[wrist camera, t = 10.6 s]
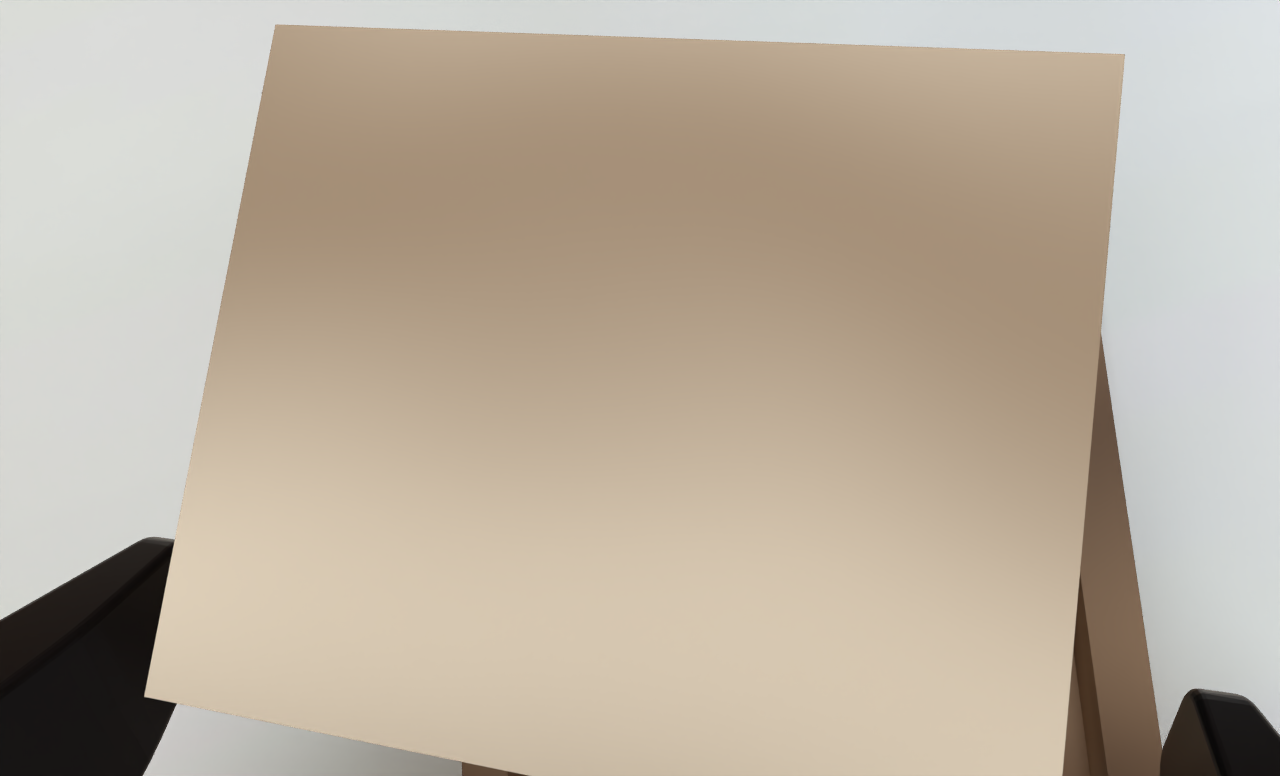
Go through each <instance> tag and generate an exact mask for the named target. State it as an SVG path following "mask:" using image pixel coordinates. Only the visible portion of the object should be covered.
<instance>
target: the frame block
mask: <svg viewBox="0 0 1280 776" xmlns="http://www.w3.org/2000/svg"><path fill="white" fill-rule="evenodd" d="M1124 59H1125V54H1102V53H1073V52H1045V51H1016V50H987V49H959V48H930V47H902V46H873V45H845V44H816V43H788V42H759V41H730V40H702V39H673V38H645V37H616V36H588V35H559V34H531V33H502V32H473V31H445V30H416V29H388V28H359V27H331V26H302V25H275V30H274V35H273V40H272V45H271V50H270V56H269V61H268V66H267V71H266V76H265V81H264V86H263V91H262V97H261V102H260V107H259V112H258V117H257V122H256V127H255V132H254V137H253V143H252V148H251V153H250V158H249V163H248V168H247V173H246V178H245V183H244V189H243V194H242V199H241V204H240V209H239V214H238V219H237V224H236V229H235V235H234V240H233V245H232V250H231V255H230V260H229V265H228V270H227V275H226V281H225V286H224V291H223V296H222V301H221V306H220V311H219V316H218V321H217V327H216V332H215V337H214V342H213V347H212V352H211V357H210V362H209V368H208V373H207V378H206V383H205V388H204V393H203V398H202V403H201V408H200V414H199V419H198V424H197V429H196V434H195V439H194V444H193V449H192V454H191V460H190V465H189V470H188V475H187V480H186V485H185V490H184V495H183V500H182V506H181V511H180V516H179V521H178V526H177V531H176V536H175V541H174V546H173V552H172V557H171V562H170V567H169V572H168V577H167V582H166V587H165V593H164V598H163V603H162V608H161V613H160V618H159V623H158V628H157V633H156V639H155V644H154V649H153V654H152V659H151V664H150V669H149V674H148V679H147V685H146V690H145V695H144V697H148V698H153V699H158V700H163V701H168V702H173V703H177V704H182V705H187V706H192V707H197V708H202V709H207V710H212V711H216V712H221V713H226V714H231V715H236V716H241V717H246V718H251V719H255V720H260V721H265V722H270V723H275V724H280V725H285V726H290V727H294V728H299V729H304V730H309V731H314V732H319V733H324V734H329V735H333V736H338V737H343V738H348V739H353V740H358V741H363V742H368V743H372V744H377V745H382V746H387V747H392V748H397V749H402V750H407V751H411V752H416V753H421V754H426V755H431V756H436V757H441V758H446V759H451V760H455V761H460V762H465V763H470V764H475V765H480V766H485V767H490V768H494V769H499V770H504V771H509V772H514V773H519V774H524V775H529V776H1062V774H1063V762H1064V751H1065V739H1066V728H1067V716H1068V705H1069V693H1070V682H1071V670H1072V658H1073V647H1074V635H1075V624H1076V612H1077V601H1078V589H1079V578H1080V566H1081V555H1082V543H1083V532H1084V520H1085V509H1086V497H1087V485H1088V474H1089V462H1090V451H1091V439H1092V428H1093V416H1094V405H1095V393H1096V382H1097V370H1098V359H1099V347H1100V335H1101V324H1102V312H1103V301H1104V289H1105V278H1106V266H1107V255H1108V243H1109V232H1110V220H1111V209H1112V197H1113V185H1114V174H1115V162H1116V151H1117V139H1118V128H1119V116H1120V105H1121V93H1122V82H1123V70H1124Z"/></svg>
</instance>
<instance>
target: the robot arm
mask: <svg viewBox="0 0 1280 776" xmlns="http://www.w3.org/2000/svg"><path fill="white" fill-rule="evenodd" d="M174 541H175V540H174V539H167V538H161V537H149V538H145V539H142V540H140V541H138V542H136V543H135V544H133V545H131V546H129V547H128V548H126V549H124V550H122V551H121V552H119V553H117V554H115V555H113V556H112V557H110V558H108V559H106V560H105V561H103V562H101V563H99V564H98V565H96V566H94V567H92V568H91V569H89V570H87V571H85V572H84V573H82V574H80V575H78V576H77V577H75V578H73V579H71V580H70V581H68V582H66V583H64V584H63V585H61V586H59V587H57V588H56V589H54V590H52V591H50V592H49V593H47V594H45V595H43V596H42V597H40V598H38V599H36V600H35V601H33V602H31V603H29V604H28V605H26V606H24V607H22V608H21V609H19V610H17V611H15V612H14V613H12V614H10V615H8V616H7V617H5V618H3V619H1V620H0V776H143V774H144V772H145V770H146V769H147V767H148V765H149V763H150V761H151V759H152V757H153V755H154V753H155V750H156V748H157V746H158V744H159V742H160V740H161V738H162V736H163V733H164V731H165V729H166V727H167V724H168V722H169V720H170V718H171V715H172V713H173V711H174V709H175V706H176V704H177V703H173V702H168V701H163V700H158V699H153V698H148V697H144V695H145V690H146V685H147V679H148V674H149V669H150V664H151V659H152V654H153V649H154V644H155V639H156V633H157V628H158V623H159V618H160V613H161V608H162V603H163V598H164V593H165V587H166V582H167V577H168V572H169V567H170V562H171V557H172V552H173V546H174ZM1160 776H1280V735H1279V734H1278V733H1277V731H1276V730H1275V729H1274V728H1273V726H1272V725H1271V724H1270V723H1269V721H1268V720H1267V719H1266V718H1265V716H1264V715H1263V714H1262V713H1261V712H1260V710H1259V709H1258V708H1257V707H1256V706H1255V704H1254V703H1252V702H1251V701H1250V700H1249V699H1247V698H1246V697H1244V696H1241V695H1238V694H1233V693H1226V692H1219V691H1212V690H1205V689H1192V690H1190V691H1189V692H1188V693H1187V694H1186V695H1185V696H1184V698H1183V700H1182V702H1181V705H1180V707H1179V710H1178V712H1177V715H1176V717H1175V719H1174V722H1173V724H1172V727H1171V729H1170V732H1169V734H1168V737H1167V739H1166V741H1165V744H1164V747H1163V750H1162V754H1161V760H1160Z"/></svg>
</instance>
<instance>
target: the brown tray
mask: <svg viewBox="0 0 1280 776" xmlns="http://www.w3.org/2000/svg"><path fill="white" fill-rule="evenodd" d="M1161 754H1162V745H1161V738H1160V731H1159V725H1158V718H1157V711H1156V704H1155V697H1154V691H1153V684H1152V677H1151V670H1150V663H1149V657H1148V650H1147V643H1146V636H1145V629H1144V623H1143V616H1142V609H1141V602H1140V595H1139V589H1138V582H1137V575H1136V568H1135V561H1134V555H1133V548H1132V541H1131V534H1130V527H1129V521H1128V514H1127V507H1126V500H1125V493H1124V487H1123V480H1122V473H1121V466H1120V459H1119V453H1118V446H1117V439H1116V432H1115V425H1114V419H1113V412H1112V405H1111V398H1110V391H1109V385H1108V378H1107V371H1106V364H1105V357H1104V351H1103V344H1102V337H1101V335H1100V347H1099V359H1098V370H1097V382H1096V393H1095V405H1094V416H1093V428H1092V439H1091V451H1090V462H1089V474H1088V485H1087V497H1086V509H1085V520H1084V532H1083V543H1082V555H1081V566H1080V578H1079V589H1078V601H1077V612H1076V624H1075V635H1074V647H1073V658H1072V670H1071V682H1070V693H1069V705H1068V716H1067V728H1066V739H1065V751H1064V762H1063V774H1062V776H1160V760H1161ZM462 776H529V775H524V774H519V773H514V772H509V771H504V770H499V769H494V768H490V767H485V766H480V765H475V764H470V763H465V762H462Z"/></svg>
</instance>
